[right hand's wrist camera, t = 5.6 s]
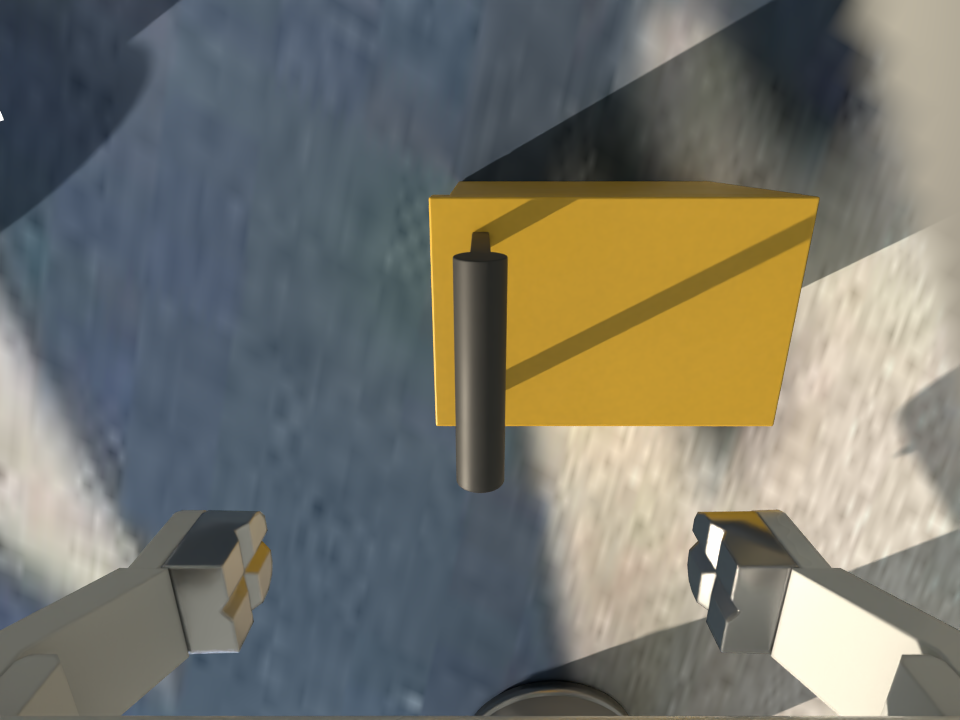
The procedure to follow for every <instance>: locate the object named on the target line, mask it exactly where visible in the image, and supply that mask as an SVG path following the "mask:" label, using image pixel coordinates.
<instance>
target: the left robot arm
mask: <svg viewBox="0 0 960 720" xmlns="http://www.w3.org/2000/svg"><path fill="white" fill-rule="evenodd" d="M474 716H628V714H627V713H626V711H625V710H624V709H623V708H622V707H621V705H620V704H618V703H617V702H616V701H615V700H614V699H612V698H611V697H609V696H608V695H606V694H604V693H603V692H601V691H598V690H596V689H594V688H591V687H588V686H585V685H581V684H576V683H571V682H561V681H545V682H536V683H530V684H526V685H522V686H518V687H515V688H512V689H510V690H507V691H505V692H503V693H501V694H499V695H497V696H496V697H494V698H493V699H491V700H490V701H488V702H487V703H486V704H485V705H483V706H482V707H481V708H480V709H479V710H478V712H477V713H476V714H475V715H474Z"/></svg>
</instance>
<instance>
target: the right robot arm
mask: <svg viewBox="0 0 960 720" xmlns="http://www.w3.org/2000/svg"><path fill="white" fill-rule="evenodd" d="M0 120H3V118H2V115H1V113H0ZM267 531H268V530H267V525H266V520H265V515H264V514H262V513H261V512H260V511H222V510H208V511H206V510H181V511H179V512H176V513H175V514H174V515H173V516H172V517H171V518H170V519H169V521H168V522H167V523H166V524H165V525H164V526H163V528H162V529H161V530H160V531H159V532H158V533H157V535H156V536H155V537H154V538H153V539H152V541H151V542H150V543H149V544H148V545H147V546H146V548H145V549H144V550H143V551H142V552H141V553H140V555H139V556H138V557H137V558H136V559H135V561H134V562H133V563H132V564H131V565H130V566H129V568H119V569H117V570H115V571H113V572H111V573H109V574H107V575H105V576H104V577H102V578H100V579H98V580H96V581H94V582H92V583H90V584H88V585H86V586H84V587H83V588H81V589H79V590H77V591H75V592H73V593H71V594H69V595H67V596H65V597H63V598H62V599H60V600H58V601H56V602H54V603H52V604H50V605H48V606H46V607H44V608H42V609H41V610H39V611H37V612H35V613H33V614H31V615H29V616H27V617H25V618H23V619H21V620H19V621H18V622H16V623H14V624H12V625H10V626H8V627H6V628H4V629H2V630H0V720H960V631H959V630H957V629H955V628H954V627H952V626H950V625H948V624H946V623H944V622H942V621H940V620H938V619H936V618H935V617H933V616H931V615H929V614H927V613H925V612H923V611H921V610H919V609H917V608H915V607H914V606H912V605H910V604H908V603H906V602H904V601H902V600H900V599H898V598H896V597H895V596H893V595H891V594H889V593H887V592H885V591H883V590H881V589H879V588H877V587H875V586H874V585H872V584H870V583H868V582H866V581H864V580H862V579H860V578H858V577H856V576H855V575H853V574H851V573H849V572H847V571H845V570H843V569H841V568H831V566H830V565H829V564H828V563H827V562H826V561H825V559H824V558H823V557H822V556H821V555H820V554H819V552H818V551H817V550H816V549H815V548H814V546H813V545H812V544H811V543H810V542H809V541H808V539H807V538H806V537H805V536H804V535H803V534H802V532H801V531H800V530H799V529H798V528H797V526H796V525H795V524H794V523H793V522H792V521H791V519H790V518H789V517H788V516H787V515H786V514H785V513H784V512H782V511H780V510H755V511H739V512H698V513H697V515H696V517H695V519H694V524H693V532H694V534H695V536H696V538H697V540H698V542H697V543H696V544H695V545H694V546H693V547H692V548H691V549H690V550H689V556H688V564H687V566H688V577H689V583H690V586H691V590H692V593H693V595H694V597H695V599H696V601H697V603H699V604H700V605H701V606H703V607H704V608H705V609H707V610H708V614H707V620H706V622H707V624H708V626H709V628H710V630H711V632H712V635H713V637H714V639H715V641H716V643H717V645H718V647H719V649H720V651H721V652H722V653H757V654H771V657H772V658H773V659H775V660H776V661H777V662H778V663H779V664H780V665H782V666H783V667H784V668H785V669H786V670H787V671H789V672H790V673H791V674H792V675H793V676H794V677H795V678H797V679H798V680H799V681H800V682H801V683H802V684H804V685H805V686H806V687H807V688H808V689H809V690H810V691H812V692H813V693H814V694H815V695H816V696H817V697H819V698H820V699H821V700H822V701H823V702H824V703H826V704H827V705H828V706H829V707H830V708H831V709H832V710H834V711H835V712H836V713H837V714H838V715H839V716H121V715H122V714H123V713H124V712H125V711H127V710H128V709H129V708H130V707H131V706H132V705H134V704H135V703H136V702H137V701H138V700H139V699H140V698H142V697H143V696H144V695H145V694H146V693H147V692H149V691H150V690H151V689H152V688H153V687H154V686H156V685H157V684H158V683H159V682H160V681H161V680H162V679H164V678H165V677H166V676H167V675H168V674H169V673H171V672H172V671H173V670H174V669H175V668H176V667H178V666H179V665H180V664H181V663H182V662H183V661H184V660H186V659H187V658H188V657H189V654H203V653H237V652H239V651H240V649H241V647H242V645H243V643H244V641H245V639H246V637H247V635H248V633H249V630H250V628H251V626H252V624H253V622H254V620H253V614H252V610H253V609H255V608H256V607H257V606H259V605H260V604H261V603H263V601H264V599H265V597H266V595H267V592H268V590H269V586H270V582H271V577H272V555H271V550H270V549H269V548H268V547H267V546H266V545H265V544H264V543H263V542H262V540H263V538H264V536H265V534H266V532H267Z"/></svg>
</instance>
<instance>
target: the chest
mask: <svg viewBox="0 0 960 720" xmlns="http://www.w3.org/2000/svg"><path fill="white" fill-rule="evenodd" d="M450 195H802V194H795V193H788V192H781V191H774V190H767V189H760V188H753V187H745V186H738V185H731V184H724V183H717V182H710V181H460V182H459V183H458V184H457V185H456V187H455V188H454V190H453V191H452V192H451V194H450Z"/></svg>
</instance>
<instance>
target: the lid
mask: <svg viewBox="0 0 960 720" xmlns="http://www.w3.org/2000/svg"><path fill="white" fill-rule="evenodd" d="M819 200H820V199H819V197H816V196H809V195H432V196H431V197H430V198H429V218H430V250H431V282H432V313H433V345H434V377H435V409H436V425H437V426H456V474H457V483H458V484H459V486H460V487H461V488H463V489H465V490H467V491H470V492H475V493H486V492H491V491H494V490H496V489H498V488H499V487H500V486H501V485H502V484H503V482H504V460H505V426H773V424H774V419H775V414H776V409H777V404H778V400H779V395H780V390H781V385H782V380H783V375H784V370H785V365H786V361H787V356H788V351H789V346H790V341H791V336H792V331H793V326H794V322H795V317H796V312H797V307H798V302H799V297H800V292H801V287H802V283H803V278H804V273H805V268H806V263H807V258H808V253H809V248H810V244H811V239H812V234H813V229H814V224H815V219H816V214H817V209H818V205H819Z"/></svg>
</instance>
